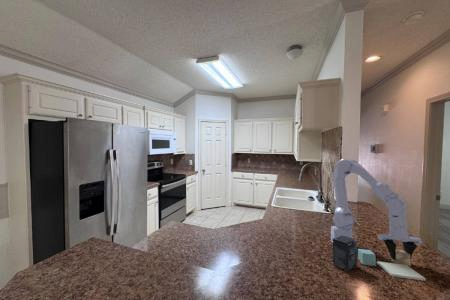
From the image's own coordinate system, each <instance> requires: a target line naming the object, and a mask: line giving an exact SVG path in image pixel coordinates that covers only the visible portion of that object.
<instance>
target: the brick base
mask: <svg viewBox="0 0 450 300" xmlns="http://www.w3.org/2000/svg"><path fill="white" fill-rule="evenodd" d="M395 253H396V260H394V259H392V258H391V257H390V260H391V261H392V263H395V264H403V265H407V266H408V267H411V265H412V264H411V260H410V254H408V253H406V252H405V251H404V249H403V250H402V249H396V251H395Z"/></svg>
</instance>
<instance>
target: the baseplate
mask: <svg viewBox="0 0 450 300" xmlns="http://www.w3.org/2000/svg"><path fill="white" fill-rule="evenodd" d="M376 265H378V266H379V267H381V268H382V269H383V270H384V271H385V272H386V273H388V274H389V276H391V277H394V278H401V279H409V280H418V281H422V282H423V281H424V282H425V281H426V278H425V277H424V276H422V275H421V274H420V273H418V272H417V271H416V270H414V269H413V268H411V266H407V265H403V264H396V263H395V262H385V261H376Z"/></svg>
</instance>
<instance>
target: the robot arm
mask: <svg viewBox="0 0 450 300" xmlns="http://www.w3.org/2000/svg"><path fill="white" fill-rule="evenodd" d="M350 174H355V175H358V176H359V177H360V178H361V179H362V180H364V181H365V182H366V183H367V184H368V185H369V186H370V187H371V189H372V190H371V191H372V192H373V193H374V194H375V195H376V196H377V197H378V198H379V199H381V200H382V201H383V202H384V203H385V206H386V208H387V209H388V223H389V233H388V234H387V233H382V234H381V233H380V234H379V233H377V239H379V240H380V241H383V243H384V244H385V245H386V248H387V250H388V252H389V255H390V259H391V258H392V259H394V260H396V253H395V251H396V250H397V243H395V242H399V243H400V242H401V243H402V247H403V251H405V252H406V253H408V254H410V261H411V259H412V256H413V254H414V251H416V249H417V247H418V245H422V239H421V238H420V237H415V236H414V237H413V236H409V233H408V219H407V218H408V217H407V216H408V215H407V210H406V209H407V208H408V206H409V205H408V202H407V200H406V199H405V198H404V197H402V196H400V194H398V193H396V192H394V191H393V190H392V188H390V185H389V184H387V183H386V184H385V183H384V182H379V181H378V180H377V179H376V178H375V177H374V176H373V175H371V174H370V173H369V171H367V170H366V168H365V167H363V165H361V163H358V162H357V161H356V160H354V159H346V158H342V159H340V160H338V161H337V162H336V163H335V168H334V171H333V173H332V179H333V185H334V186H333V187H334V196H335V206H336V208H335V210H334V212H333V213H334V214H333V215H334V216H333V217H332V221H333V224H334V225H331V227H330V242H331V243H332V244H333V238H336V237H339V236H342V235H343V236H346V237H349V238H353V236H354V235H353V225H354V223H355V218H354V216H353V213H352V210H351V209H350V208H349V201H348V194H347V187H346V186H347V183H346V177H347V176H348V175H350ZM353 239H354V238H353ZM417 244H418V245H417Z"/></svg>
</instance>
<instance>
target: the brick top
mask: <svg viewBox="0 0 450 300" xmlns="http://www.w3.org/2000/svg"><path fill="white" fill-rule="evenodd" d="M376 257H377V256H376V254H375V252H373V251H372V250H370V249H362V248H357V260H358V259H359V260H360V261H359V260H358V261H359V262H360V263H361V264H362V265H363V264H364V265H365V266H371V267H377V261H376Z"/></svg>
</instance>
